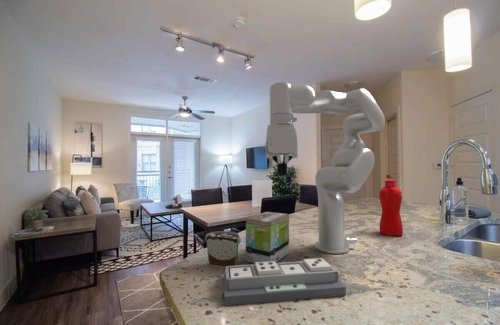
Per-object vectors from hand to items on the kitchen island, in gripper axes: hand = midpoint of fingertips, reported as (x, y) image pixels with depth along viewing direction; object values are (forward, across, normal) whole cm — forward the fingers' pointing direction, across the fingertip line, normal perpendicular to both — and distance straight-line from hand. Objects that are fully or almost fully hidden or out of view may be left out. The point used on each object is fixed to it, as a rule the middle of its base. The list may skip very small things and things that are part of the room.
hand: (282, 175), depth 80 cm
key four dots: (+25, +9, +15) cm, 31 cm away
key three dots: (+26, -5, +15) cm, 30 cm away
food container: (+29, +19, -2) cm, 35 cm away
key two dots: (+27, +16, +15) cm, 34 cm away
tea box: (+29, +4, -5) cm, 30 cm away
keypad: (+29, +5, +15) cm, 33 cm away
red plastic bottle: (+30, -59, -25) cm, 70 cm away
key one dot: (+27, +2, +15) cm, 31 cm away
